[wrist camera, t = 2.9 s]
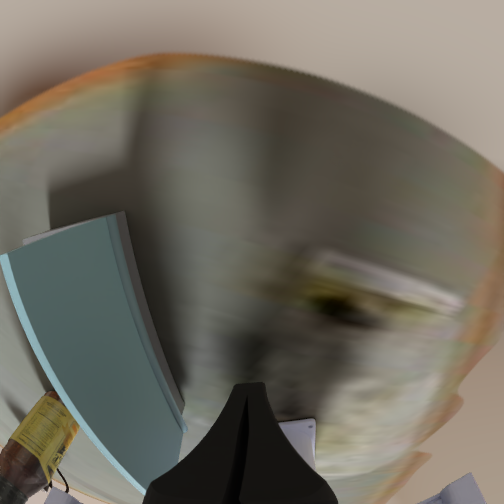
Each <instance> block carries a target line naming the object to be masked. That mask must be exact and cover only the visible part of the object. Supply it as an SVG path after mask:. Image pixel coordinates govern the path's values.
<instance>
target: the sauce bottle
mask: <svg viewBox="0 0 504 504" xmlns="http://www.w3.org/2000/svg"><path fill="white" fill-rule="evenodd" d="M79 428H80V425H79V424H78V423H77V421H76V420H75V418H74V417H73V416H72V414H71V413H70V411H69V410H68V409H67V407H66V406H65V404H64V403H63V401H62V400H61V398H60V396H59V395H58V393H57V392H55V391H49V392H47V393H45V395H44V396H42V397H41V399H40V400H39V401H38V402H37V403H36V405H35V406H34V407H33V408H32V409H31V411H30V412H29V413H28V415H27V416H26V417H25V418H24V420H23V421H22V422H21V424H20V425H19V426H18V428H17V429H16V430H15V432H14V433H13V434H12V436H11V437H10V438H9V440H8V443H7V444H6V446H5V447H4V449H2V451H1V454H0V504H25V502H26V501H27V500H28V498H29V497H31V496H32V495H34V494H35V493H37V492H38V491H40V490H41V489H43V488H44V487H46V486H47V485H48V484H49V483H50V481H51V479H52V477H53V475H54V473H55V471H56V469H57V468H58V466H59V464H60V462H61V460H62V458H63V457H64V455H65V453H66V451H67V450H68V448H69V446H70V444H71V443H72V441H73V439H74V437H75V436H76V434H77V432H78V431H79Z"/></svg>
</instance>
